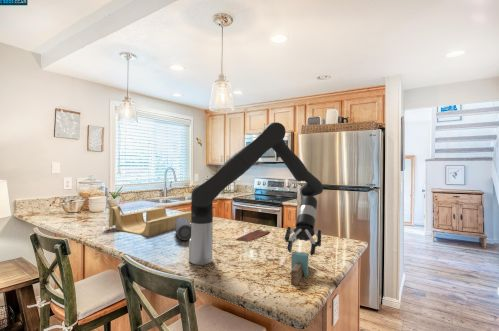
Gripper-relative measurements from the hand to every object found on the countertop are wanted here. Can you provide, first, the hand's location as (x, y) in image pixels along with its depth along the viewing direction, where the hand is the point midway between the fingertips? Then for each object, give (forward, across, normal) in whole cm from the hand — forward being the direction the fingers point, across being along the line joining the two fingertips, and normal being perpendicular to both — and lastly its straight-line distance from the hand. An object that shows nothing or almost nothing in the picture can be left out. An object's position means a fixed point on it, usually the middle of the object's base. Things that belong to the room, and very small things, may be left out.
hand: (300, 253), depth 103 cm
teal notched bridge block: (+6, 0, +6) cm, 8 cm away
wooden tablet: (-25, -37, +38) cm, 59 cm away
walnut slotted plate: (+6, 0, +6) cm, 8 cm away
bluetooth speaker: (-11, -73, +23) cm, 77 cm away
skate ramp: (-21, -108, +33) cm, 115 cm away
